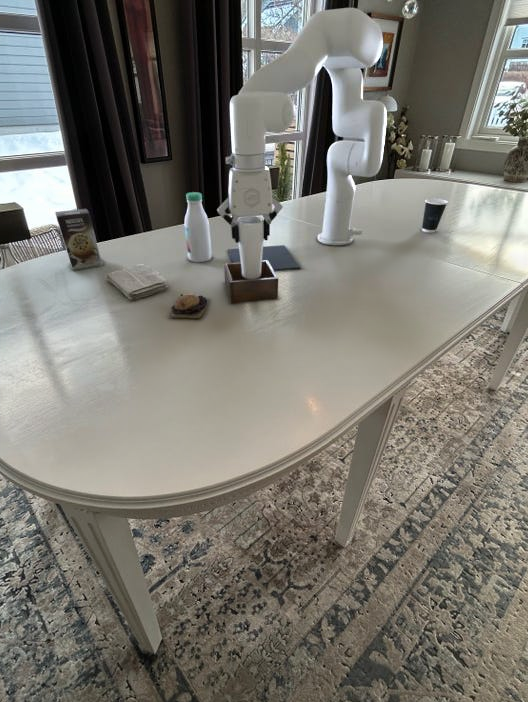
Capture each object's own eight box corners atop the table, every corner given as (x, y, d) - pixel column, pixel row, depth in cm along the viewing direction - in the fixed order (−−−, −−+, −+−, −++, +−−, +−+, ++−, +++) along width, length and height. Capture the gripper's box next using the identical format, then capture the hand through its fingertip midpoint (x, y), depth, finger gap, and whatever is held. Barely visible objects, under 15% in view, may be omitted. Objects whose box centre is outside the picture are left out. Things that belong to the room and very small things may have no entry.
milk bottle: (215, 255, 123) (211, 191, 111) (205, 264, 117) (199, 197, 106) (194, 253, 125) (188, 189, 113) (184, 261, 120) (175, 195, 108)
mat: (284, 246, 130) (284, 245, 130) (300, 268, 114) (300, 267, 114) (228, 250, 127) (227, 249, 126) (236, 274, 111) (236, 272, 111)
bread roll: (201, 320, 89) (200, 307, 87) (167, 318, 90) (165, 305, 88) (210, 299, 98) (209, 287, 96) (179, 298, 99) (177, 285, 96)
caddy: (267, 279, 108) (267, 260, 104) (277, 299, 98) (278, 278, 94) (224, 283, 106) (223, 263, 102) (231, 303, 96) (229, 282, 92)
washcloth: (131, 302, 97) (129, 292, 95) (105, 280, 108) (103, 270, 106) (171, 290, 103) (170, 279, 101) (143, 270, 114) (141, 260, 112)
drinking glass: (261, 282, 97) (261, 224, 88) (236, 280, 98) (233, 223, 89) (266, 271, 102) (266, 216, 93) (242, 270, 103) (240, 215, 94)
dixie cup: (428, 235, 140) (436, 204, 133) (413, 229, 145) (420, 199, 139) (444, 232, 142) (453, 202, 135) (428, 226, 148) (436, 197, 141)
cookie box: (72, 270, 114) (55, 216, 104) (70, 263, 118) (53, 211, 108) (103, 265, 117) (89, 212, 107) (100, 258, 121) (86, 207, 112)
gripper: (212, 166, 79) (218, 248, 90) (290, 162, 81) (287, 242, 92) (209, 160, 85) (215, 237, 96) (282, 157, 87) (280, 232, 98)
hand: (250, 239), depth 94 cm, fingers closed on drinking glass, 6 cm apart
